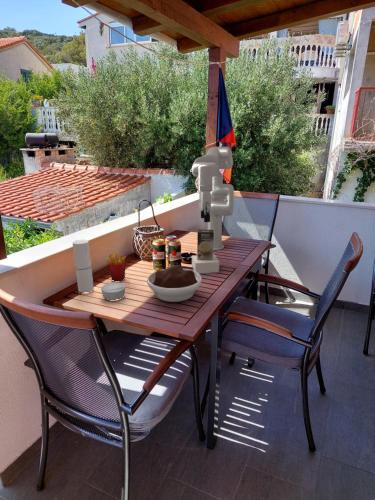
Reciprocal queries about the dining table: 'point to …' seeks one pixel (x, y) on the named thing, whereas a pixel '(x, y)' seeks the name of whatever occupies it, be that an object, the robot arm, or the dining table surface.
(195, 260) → the cream block
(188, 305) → the dining table surface
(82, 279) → the cylindrical container
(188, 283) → the white bowl of soil
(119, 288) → the ramekin
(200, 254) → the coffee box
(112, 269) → the french fries
